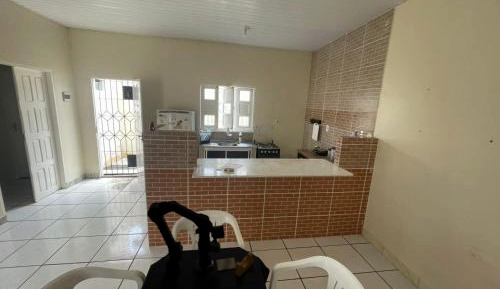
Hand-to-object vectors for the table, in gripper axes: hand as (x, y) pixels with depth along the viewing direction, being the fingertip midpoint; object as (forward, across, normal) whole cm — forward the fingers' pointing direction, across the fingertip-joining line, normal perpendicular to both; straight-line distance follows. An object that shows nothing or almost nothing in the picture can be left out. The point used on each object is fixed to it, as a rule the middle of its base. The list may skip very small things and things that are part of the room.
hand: (204, 266), depth 115 cm
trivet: (+1, 0, -12) cm, 12 cm away
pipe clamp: (+1, -5, -20) cm, 21 cm away
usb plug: (+1, 0, -1) cm, 2 cm away
